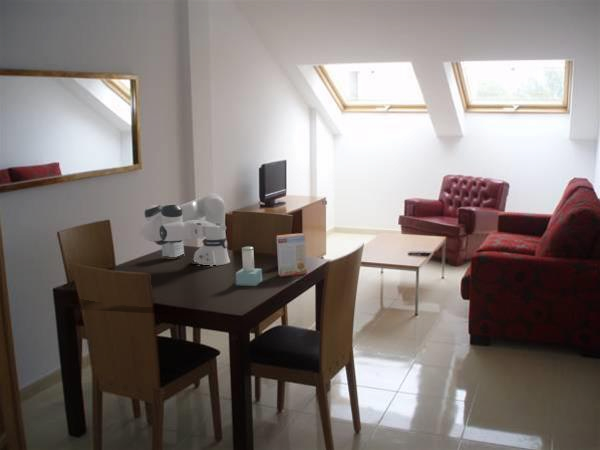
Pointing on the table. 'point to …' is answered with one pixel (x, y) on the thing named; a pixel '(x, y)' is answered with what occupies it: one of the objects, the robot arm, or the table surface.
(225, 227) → the robot arm
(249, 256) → the canister
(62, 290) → the table surface
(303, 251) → the cracker box
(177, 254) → the white carton
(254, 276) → the plinth
